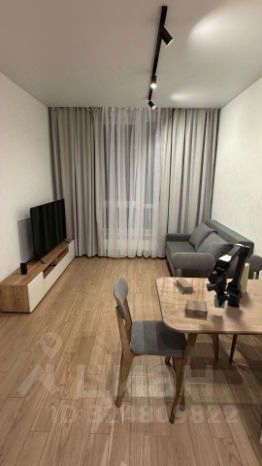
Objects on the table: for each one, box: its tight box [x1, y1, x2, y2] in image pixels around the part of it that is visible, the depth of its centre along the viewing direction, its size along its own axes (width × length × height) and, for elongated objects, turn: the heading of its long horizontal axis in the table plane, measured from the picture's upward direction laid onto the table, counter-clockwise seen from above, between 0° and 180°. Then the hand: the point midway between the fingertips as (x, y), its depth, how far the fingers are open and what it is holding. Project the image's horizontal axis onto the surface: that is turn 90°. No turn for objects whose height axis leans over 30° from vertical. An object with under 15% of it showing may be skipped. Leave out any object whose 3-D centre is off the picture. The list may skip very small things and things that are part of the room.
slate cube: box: [213, 294, 226, 310], centre depth 150 cm, size 6×6×6 cm
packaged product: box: [173, 277, 196, 294], centre depth 187 cm, size 18×5×10 cm
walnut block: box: [185, 299, 209, 318], centre depth 154 cm, size 12×12×4 cm
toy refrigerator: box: [240, 262, 250, 295], centre depth 181 cm, size 8×7×21 cm
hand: (219, 304), depth 151 cm, fingers closed on slate cube, 5 cm apart
